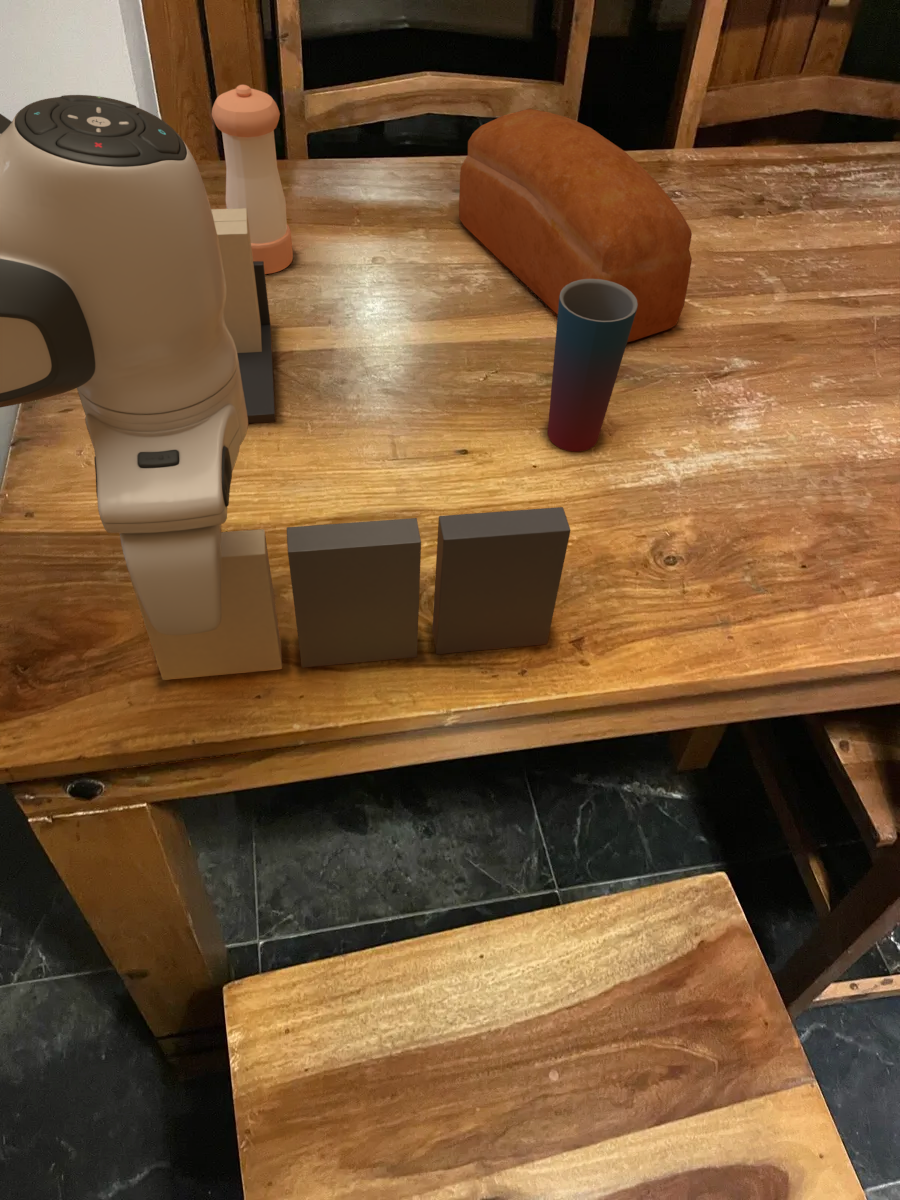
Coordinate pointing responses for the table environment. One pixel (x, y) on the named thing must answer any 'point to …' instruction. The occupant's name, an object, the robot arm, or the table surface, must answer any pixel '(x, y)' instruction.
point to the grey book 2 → (497, 578)
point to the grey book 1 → (355, 590)
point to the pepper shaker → (255, 171)
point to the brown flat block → (229, 619)
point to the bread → (575, 214)
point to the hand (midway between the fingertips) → (206, 569)
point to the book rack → (247, 312)
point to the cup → (587, 359)
